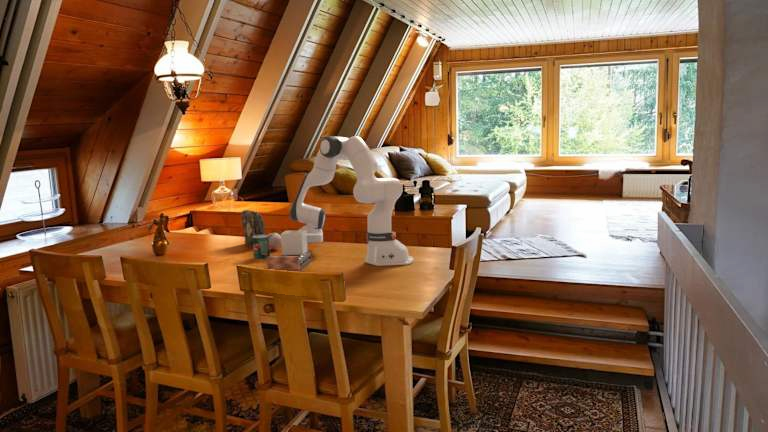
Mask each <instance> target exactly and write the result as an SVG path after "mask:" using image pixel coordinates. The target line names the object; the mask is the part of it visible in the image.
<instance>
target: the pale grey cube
mask: <svg viewBox="0 0 768 432" xmlns="http://www.w3.org/2000/svg"><path fill="white" fill-rule="evenodd" d="M280 236H281V245H280V246H281V256H282V255H303V254H305V253H306V252H309V251H308V244H307V230H299V229H298V230H297V229H296V230H284V231H283V232H282V233H280Z"/></svg>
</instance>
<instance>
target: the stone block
mask: <svg viewBox="0 0 768 432" xmlns="http://www.w3.org/2000/svg"><path fill="white" fill-rule="evenodd" d="M240 216H241V218H240V219H241V223H242V228H243V232H244V233H243V234H244V244H245V245H246V246H247V247H249V248H253V236H255V235H265V230H266V229H265V228H266V225H265V223H264V219H263V216H262V215H261V213H259V212H257V211H255V210H250V209H249V210H248V209H245V210H242V212H241V215H240Z"/></svg>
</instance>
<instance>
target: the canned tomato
mask: <svg viewBox="0 0 768 432" xmlns="http://www.w3.org/2000/svg"><path fill="white" fill-rule="evenodd" d="M270 249H271V248H270V247H269V234H264V235H255V236H253V249H252V250H253V259H254V260H257V261H258V260H260V261H261V260H267V257H268V256H271V250H270Z"/></svg>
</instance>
